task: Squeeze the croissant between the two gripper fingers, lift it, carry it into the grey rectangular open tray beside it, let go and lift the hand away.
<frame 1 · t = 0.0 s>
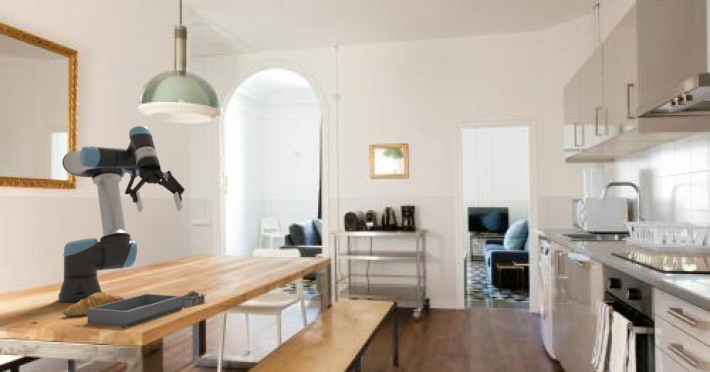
hand: (160, 209, 171), 36 cm above the table, tool tilted 35°, fingers open, 13 cm apart
grey rectangular open tray: (137, 315, 167), on the table
croissant: (94, 312, 173), on the table
egg carton: (191, 304, 186), on the table
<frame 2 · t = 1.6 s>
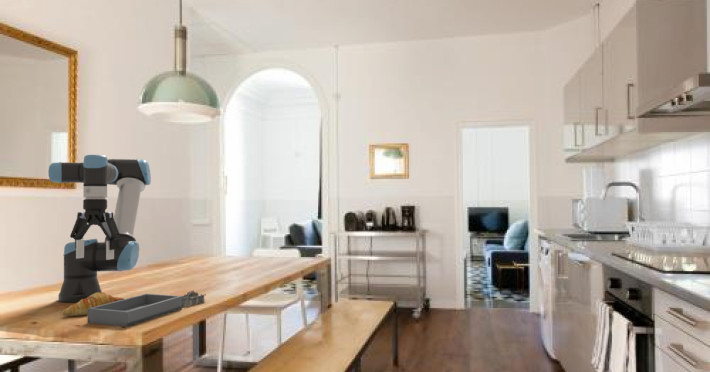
hand: (94, 258, 173), 19 cm above the table, tool pointing down, fingers open, 13 cm apart
nothing on the table moved.
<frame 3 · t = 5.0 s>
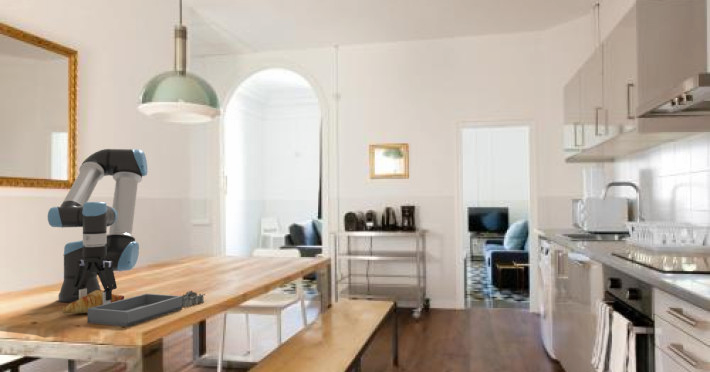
hand: (94, 308, 173), 1 cm above the table, tool pointing down, fingers closed on croissant, 10 cm apart
croissant: (94, 310, 173), on the table, touching gripper
everything else where it was.
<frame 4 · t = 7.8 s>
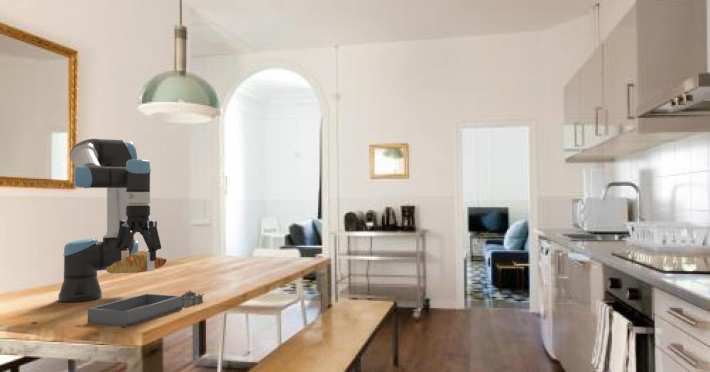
hand: (137, 270, 167), 15 cm above the table, tool pointing down, fingers closed on croissant, 10 cm apart
croissant: (137, 271, 167), point 15 cm above the table, touching gripper
everything else where it was.
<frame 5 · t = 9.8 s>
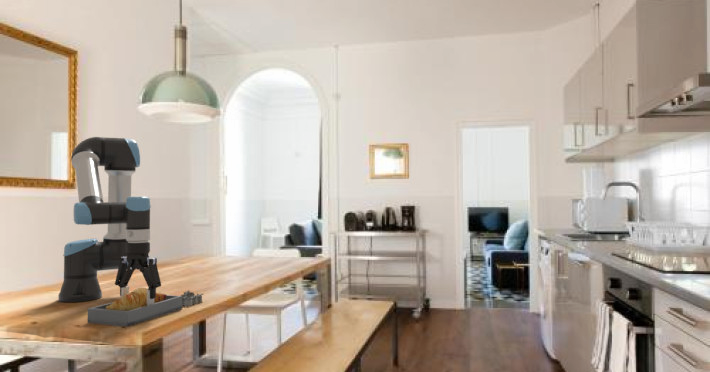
hand: (137, 307, 167), 3 cm above the table, tool pointing down, fingers closed on croissant, 10 cm apart
croissant: (136, 309, 167), point 2 cm above the table, touching gripper
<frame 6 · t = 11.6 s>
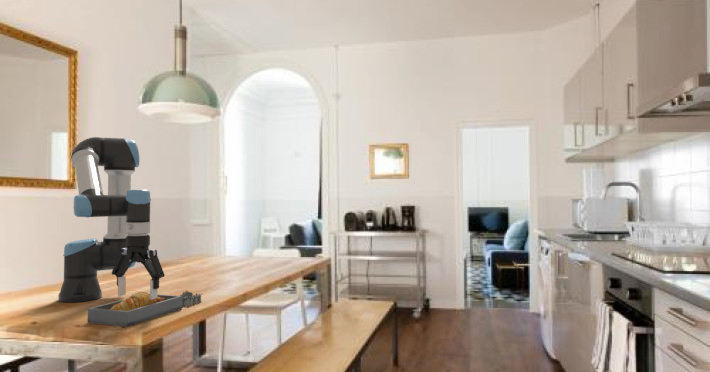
hand: (137, 297, 167), 6 cm above the table, tool pointing down, fingers open, 13 cm apart
croissant: (136, 313, 167), point 1 cm above the table, touching grey rectangular open tray
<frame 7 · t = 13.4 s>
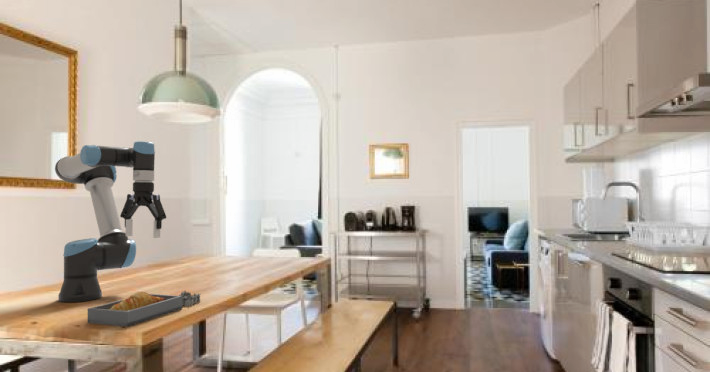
hand: (142, 236, 189), 25 cm above the table, tool pointing down, fingers open, 13 cm apart
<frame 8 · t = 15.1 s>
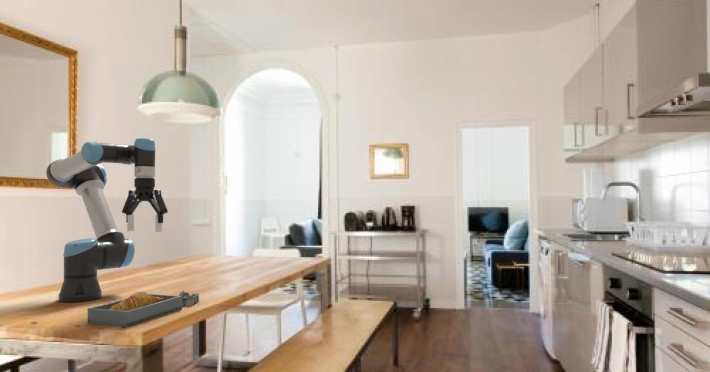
hand: (144, 231, 194), 27 cm above the table, tool pointing down, fingers open, 13 cm apart
at the end: croissant inside the target area on the grey rectangular open tray (0.6 cm from its centre), point 0.8 cm above the grey rectangular open tray's base; the gripper is holding nothing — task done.
